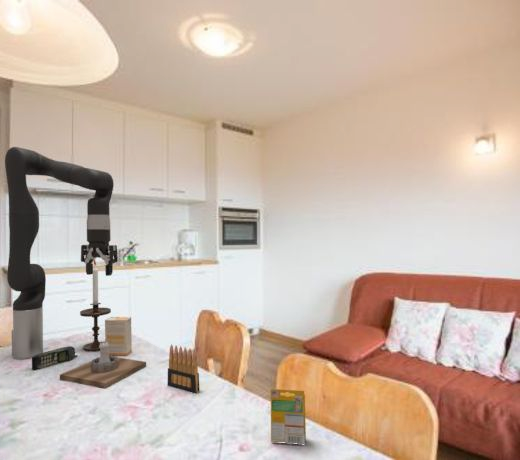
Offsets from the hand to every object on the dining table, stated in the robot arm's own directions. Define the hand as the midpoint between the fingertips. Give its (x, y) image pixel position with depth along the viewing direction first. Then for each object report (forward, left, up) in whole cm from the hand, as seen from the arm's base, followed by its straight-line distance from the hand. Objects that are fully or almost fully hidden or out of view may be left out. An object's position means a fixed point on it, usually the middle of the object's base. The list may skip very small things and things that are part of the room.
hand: (99, 274), depth 127 cm
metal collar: (+9, -7, -29) cm, 31 cm away
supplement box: (0, +9, -30) cm, 32 cm away
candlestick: (-13, +11, -30) cm, 35 cm away
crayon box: (+75, -22, -30) cm, 84 cm away
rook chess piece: (+9, -7, -29) cm, 31 cm away
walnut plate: (+9, -7, -30) cm, 32 cm away
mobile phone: (-13, -6, -31) cm, 34 cm away
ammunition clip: (+39, -8, -30) cm, 50 cm away
